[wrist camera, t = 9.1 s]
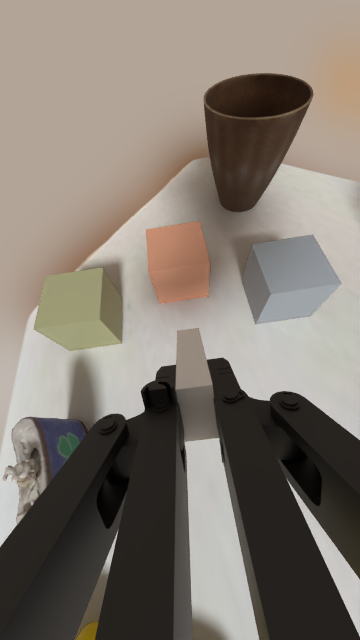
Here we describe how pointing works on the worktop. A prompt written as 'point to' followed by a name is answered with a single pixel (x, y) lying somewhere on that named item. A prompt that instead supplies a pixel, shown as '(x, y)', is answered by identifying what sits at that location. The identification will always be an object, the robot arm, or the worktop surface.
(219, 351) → the worktop surface
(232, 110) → the plant pot
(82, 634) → the element tile
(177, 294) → the terracotta block
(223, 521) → the worktop surface
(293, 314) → the slate block
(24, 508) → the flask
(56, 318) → the olive block
